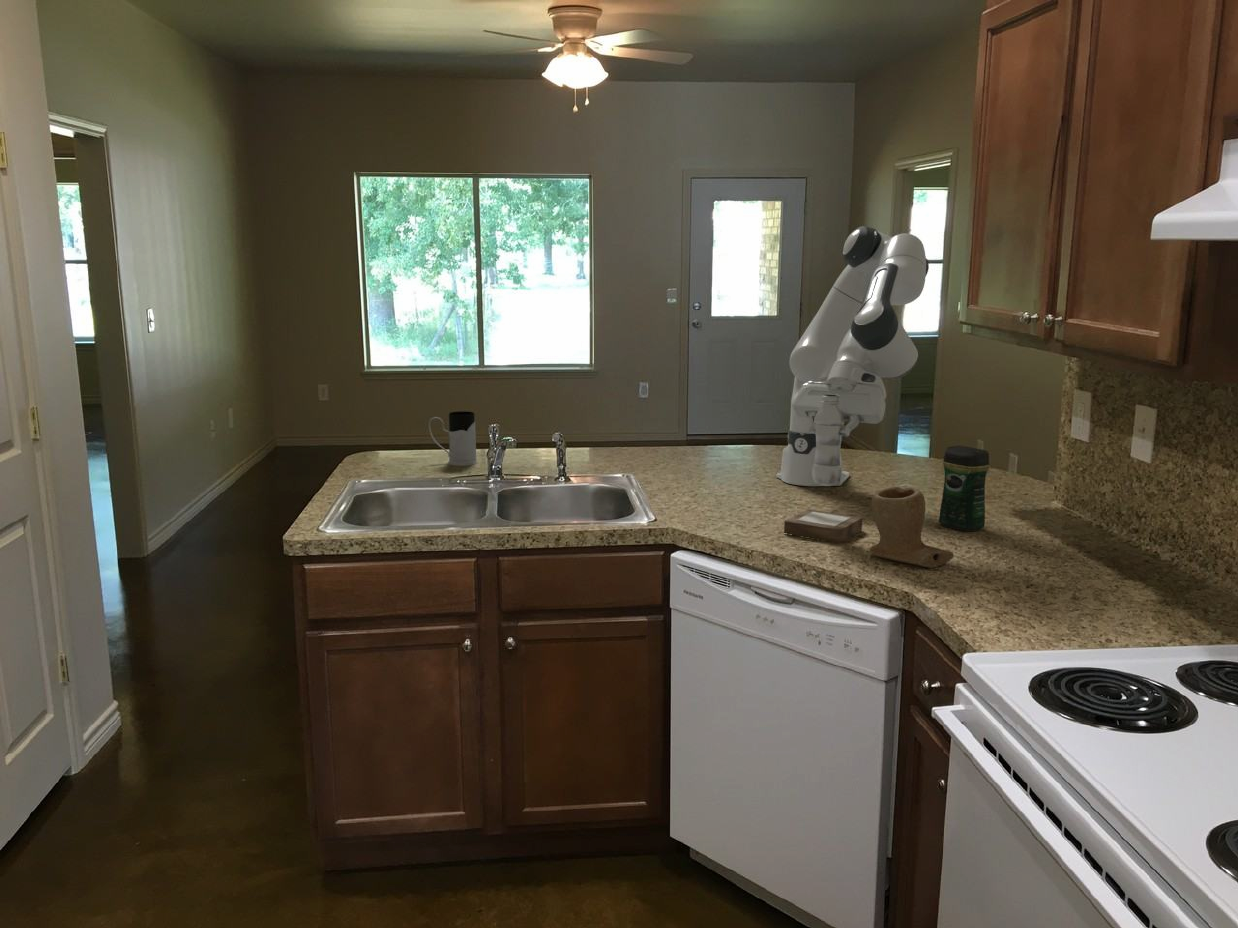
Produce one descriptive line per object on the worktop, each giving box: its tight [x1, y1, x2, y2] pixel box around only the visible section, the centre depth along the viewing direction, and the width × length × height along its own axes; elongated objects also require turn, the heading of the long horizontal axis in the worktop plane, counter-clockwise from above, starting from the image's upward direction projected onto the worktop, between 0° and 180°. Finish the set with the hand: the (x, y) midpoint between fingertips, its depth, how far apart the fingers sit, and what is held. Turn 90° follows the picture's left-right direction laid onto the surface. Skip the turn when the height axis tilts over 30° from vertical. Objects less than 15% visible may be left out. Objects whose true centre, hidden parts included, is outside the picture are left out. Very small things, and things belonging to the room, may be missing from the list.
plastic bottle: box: [812, 394, 845, 487], centre depth 213 cm, size 6×7×20 cm
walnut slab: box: [783, 508, 863, 544], centre depth 217 cm, size 13×13×3 cm
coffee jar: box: [938, 445, 990, 532], centre depth 221 cm, size 10×8×19 cm
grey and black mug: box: [428, 410, 479, 467], centre depth 290 cm, size 9×14×15 cm, turn 89°
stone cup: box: [868, 486, 954, 569], centre depth 195 cm, size 15×12×15 cm
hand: (828, 433), depth 212 cm, fingers closed on plastic bottle, 6 cm apart
